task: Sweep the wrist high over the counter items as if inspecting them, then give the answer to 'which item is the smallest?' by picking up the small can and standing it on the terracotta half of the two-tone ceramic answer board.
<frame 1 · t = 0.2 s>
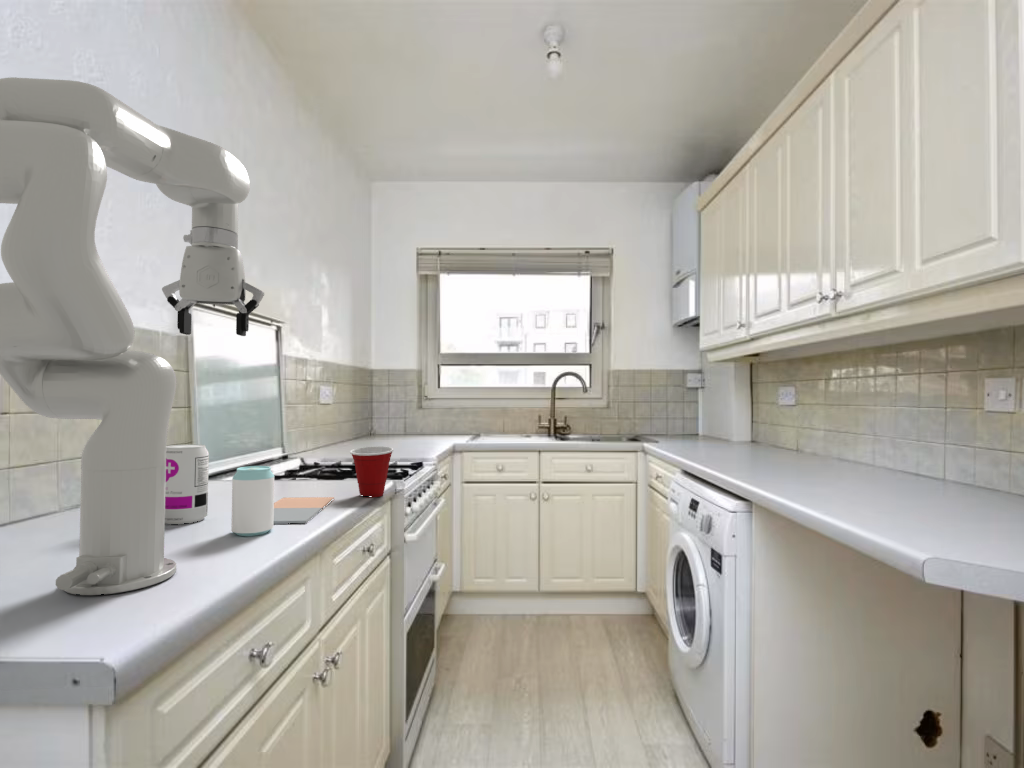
hand: (213, 334, 99), 37 cm above the table, tool pointing down, fingers open, 9 cm apart
supplement can: (183, 521, 108), on the table
plastic cup: (371, 496, 136), on the table
can: (252, 533, 99), on the table
answer board: (293, 510, 117), on the table
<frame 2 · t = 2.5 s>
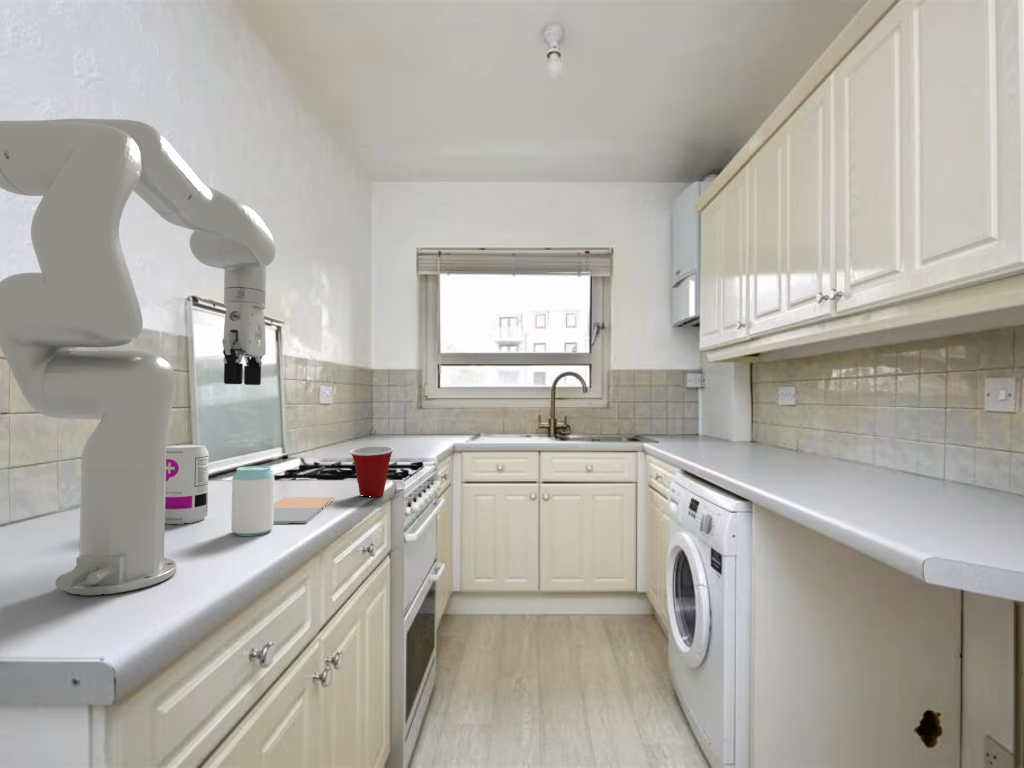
hand: (243, 384, 108), 28 cm above the table, tool pointing down, fingers open, 9 cm apart
nothing on the table moved.
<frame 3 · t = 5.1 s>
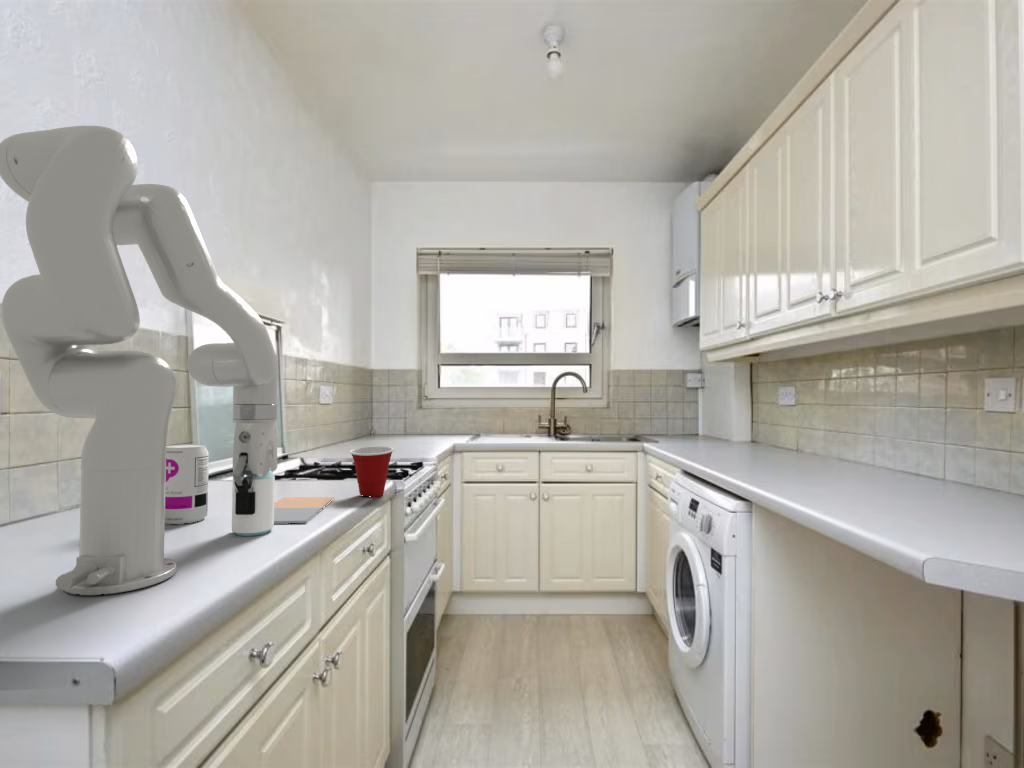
hand: (253, 508, 99), 4 cm above the table, tool pointing down, fingers closed on can, 6 cm apart
can: (252, 533, 99), on the table, touching gripper
everything else where it was.
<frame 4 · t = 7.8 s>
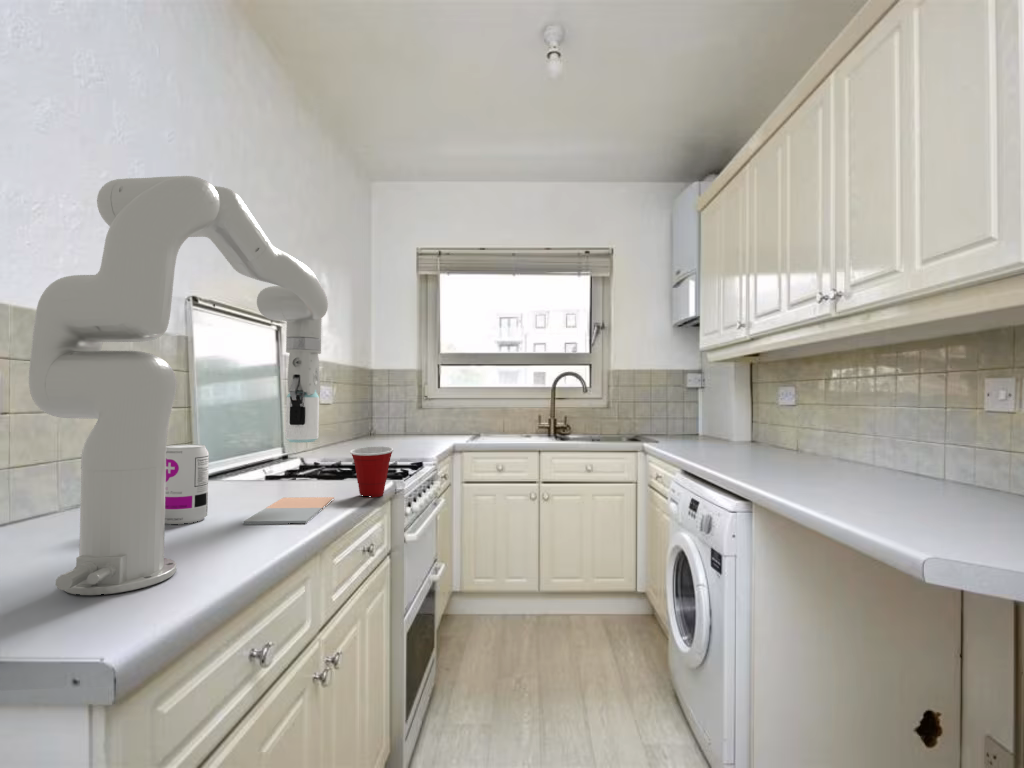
hand: (302, 423, 123), 19 cm above the table, tool pointing down, fingers closed on can, 6 cm apart
can: (302, 442, 123), point 15 cm above the table, touching gripper
everything else where it was.
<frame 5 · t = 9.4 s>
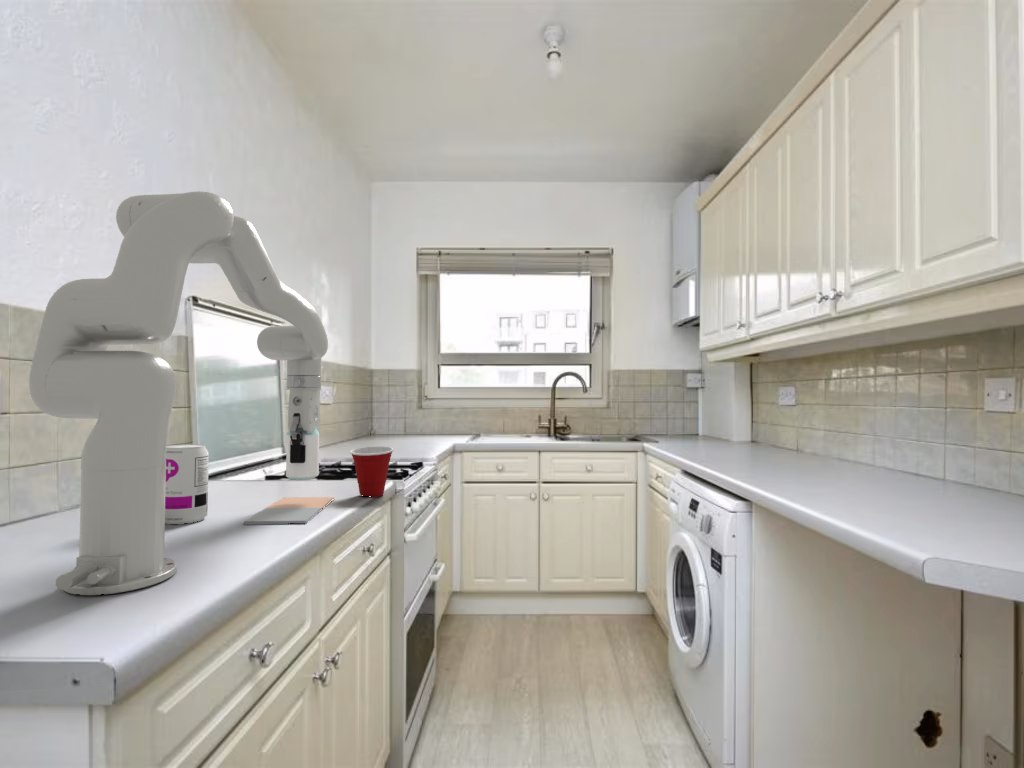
hand: (302, 460, 124), 10 cm above the table, tool pointing down, fingers closed on can, 6 cm apart
can: (302, 479, 124), point 6 cm above the table, touching gripper
everything else where it was.
when the fingers open (6 cm above the table, at t = 10.8 s): can drops 1 cm, resting on answer board.
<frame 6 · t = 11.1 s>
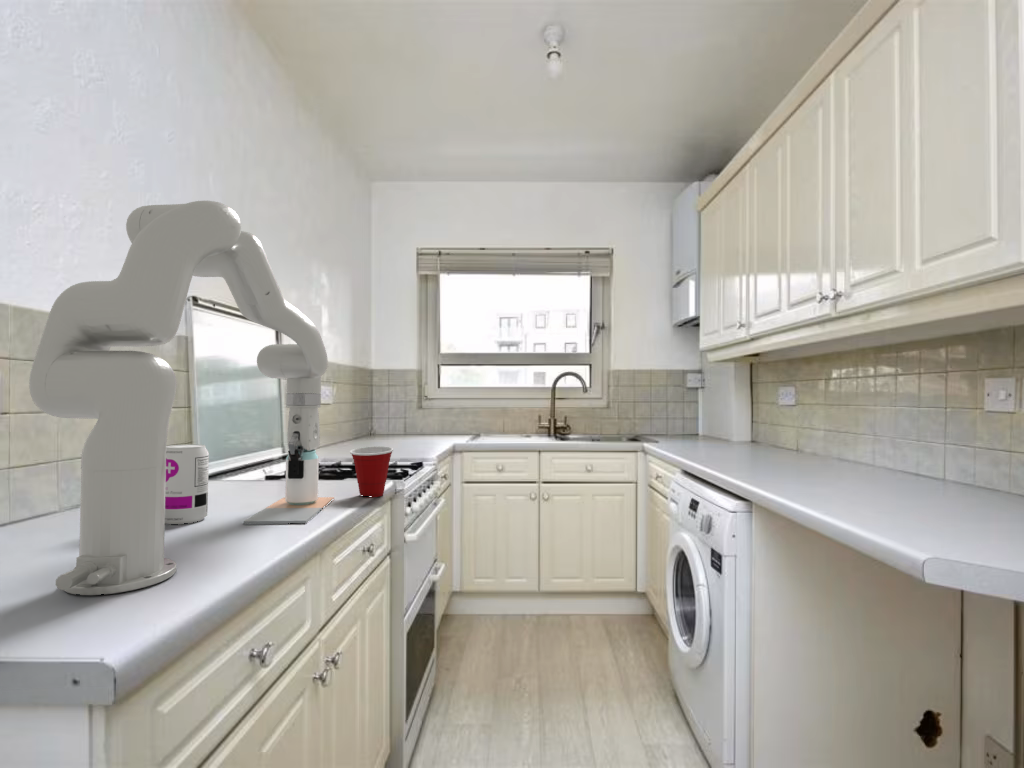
hand: (302, 475, 123), 7 cm above the table, tool pointing down, fingers open, 9 cm apart
can: (301, 503, 123), resting on answer board
everything else where it was.
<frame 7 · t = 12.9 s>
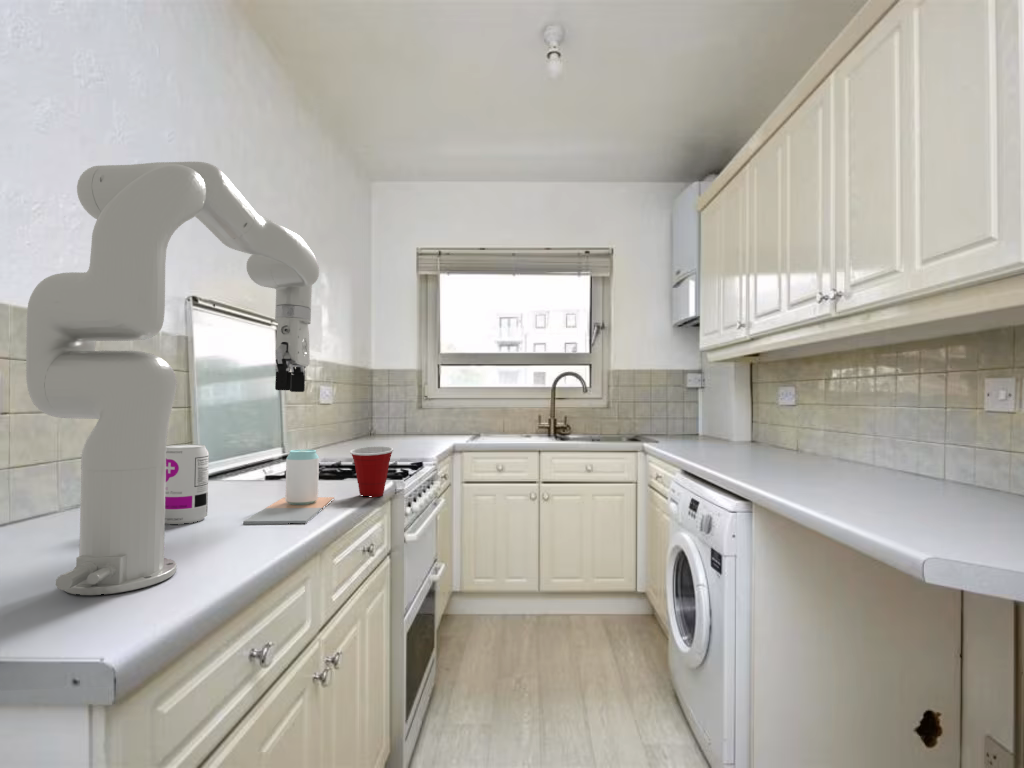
hand: (290, 391, 121), 26 cm above the table, tool pointing down, fingers open, 9 cm apart
nothing on the table moved.
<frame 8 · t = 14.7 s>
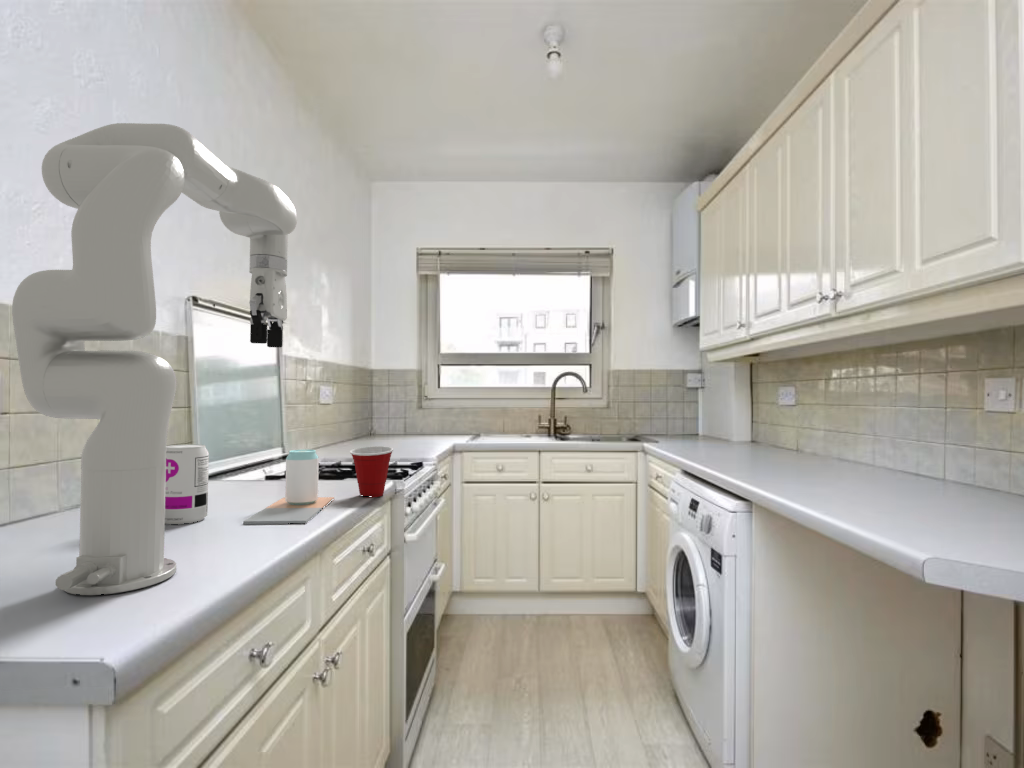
hand: (267, 345, 116), 36 cm above the table, tool pointing down, fingers open, 9 cm apart
nothing on the table moved.
at the end: can inside the target area on the answer board (1.1 cm from its centre), point 0.4 cm above the answer board's base; can tilted 0°; the gripper is holding nothing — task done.
